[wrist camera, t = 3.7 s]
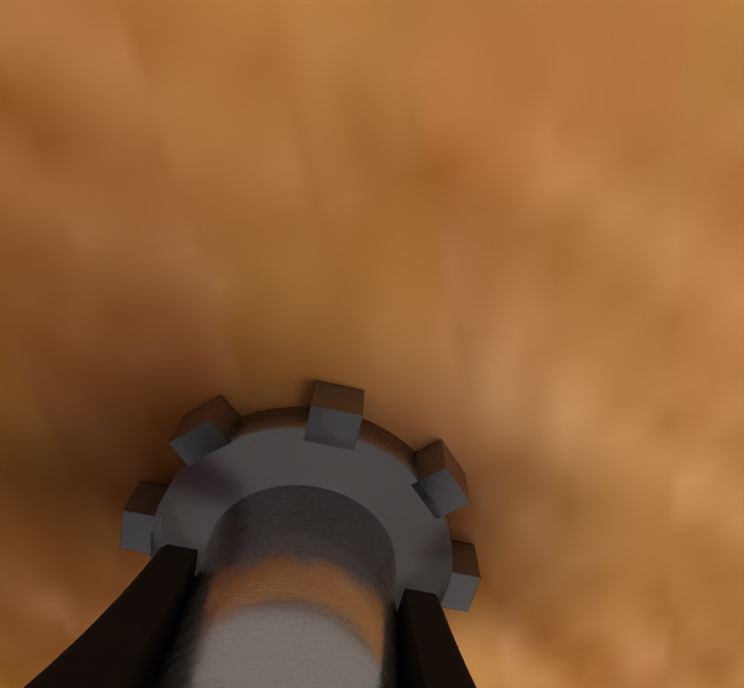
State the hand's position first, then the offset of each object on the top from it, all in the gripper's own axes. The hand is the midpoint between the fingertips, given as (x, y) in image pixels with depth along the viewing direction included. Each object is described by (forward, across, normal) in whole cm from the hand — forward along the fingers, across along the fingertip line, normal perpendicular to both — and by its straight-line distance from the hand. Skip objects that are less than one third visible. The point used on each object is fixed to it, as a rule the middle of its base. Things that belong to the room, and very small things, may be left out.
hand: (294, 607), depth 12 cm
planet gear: (+2, 0, 0) cm, 2 cm away
